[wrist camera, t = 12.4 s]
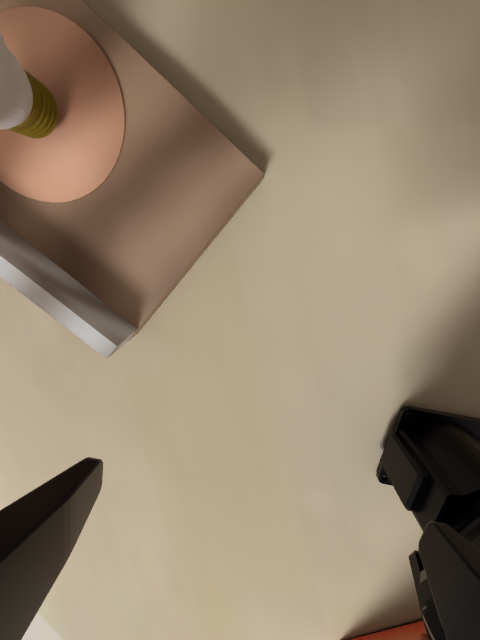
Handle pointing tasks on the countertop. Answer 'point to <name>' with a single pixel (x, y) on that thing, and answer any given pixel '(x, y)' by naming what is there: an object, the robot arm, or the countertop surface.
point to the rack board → (107, 178)
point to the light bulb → (24, 99)
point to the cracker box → (399, 633)
